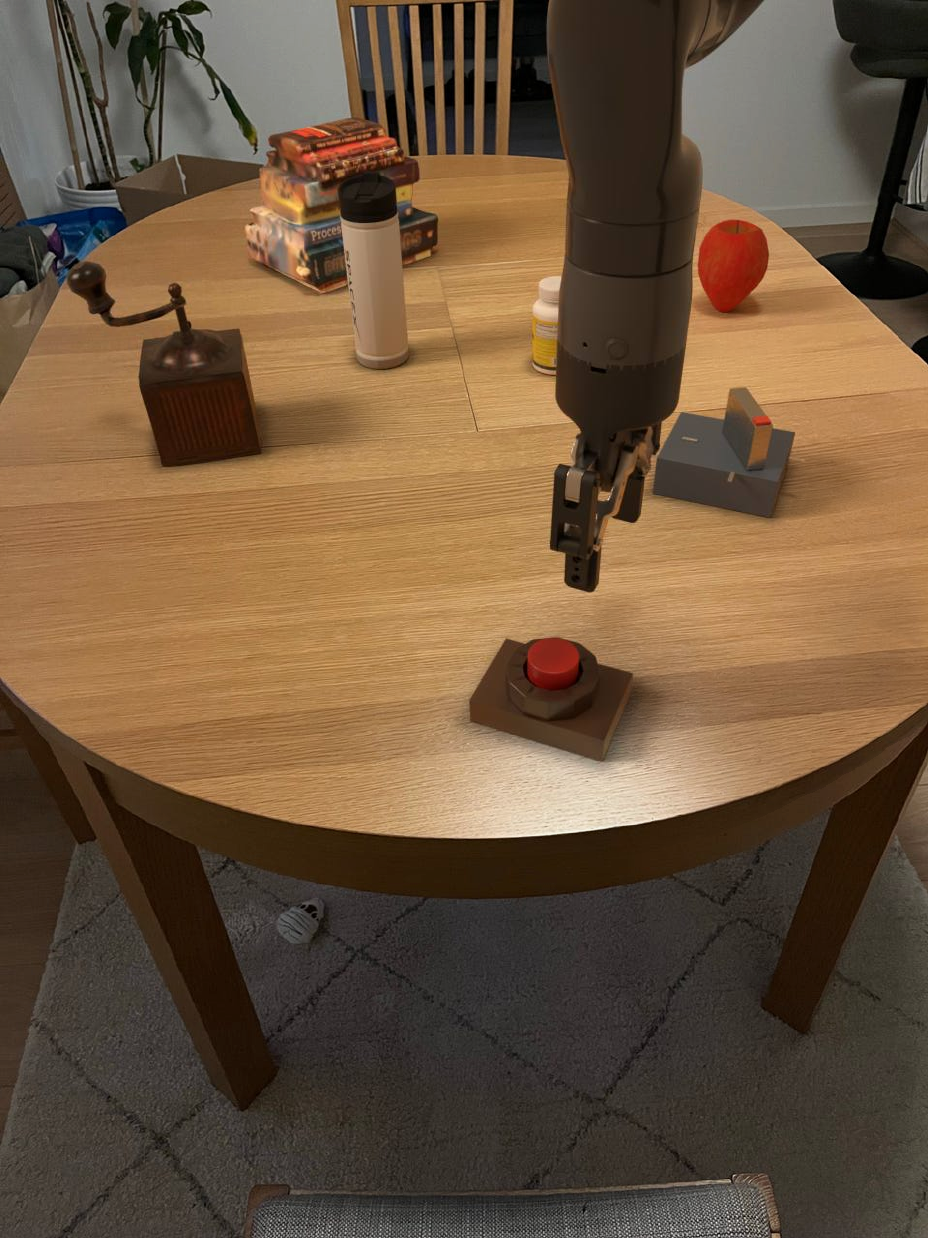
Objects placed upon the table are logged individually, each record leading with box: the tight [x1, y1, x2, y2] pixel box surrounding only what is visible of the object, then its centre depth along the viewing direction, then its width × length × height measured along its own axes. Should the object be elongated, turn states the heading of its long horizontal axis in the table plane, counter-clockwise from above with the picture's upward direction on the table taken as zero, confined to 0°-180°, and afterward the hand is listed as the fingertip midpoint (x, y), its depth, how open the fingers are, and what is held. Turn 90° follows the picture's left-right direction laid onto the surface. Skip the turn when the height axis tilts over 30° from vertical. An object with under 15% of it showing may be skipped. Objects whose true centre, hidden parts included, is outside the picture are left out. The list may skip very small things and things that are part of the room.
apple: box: [697, 219, 770, 313], centre depth 115 cm, size 9×8×11 cm
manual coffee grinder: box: [65, 260, 263, 467], centre depth 93 cm, size 16×11×18 cm
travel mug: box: [338, 172, 410, 370], centre depth 105 cm, size 6×7×20 cm
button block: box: [468, 636, 634, 762], centre depth 67 cm, size 10×7×4 cm
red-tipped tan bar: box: [722, 386, 774, 470], centre depth 84 cm, size 7×2×5 cm, turn 6°
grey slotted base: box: [652, 411, 806, 519], centre depth 88 cm, size 13×11×4 cm
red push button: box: [527, 637, 579, 691], centre depth 65 cm, size 4×4×2 cm
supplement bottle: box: [531, 275, 562, 376], centre depth 105 cm, size 5×5×10 cm
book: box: [244, 116, 439, 294], centre depth 130 cm, size 23×18×17 cm
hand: (603, 551), depth 65 cm, fingers open, 8 cm apart
